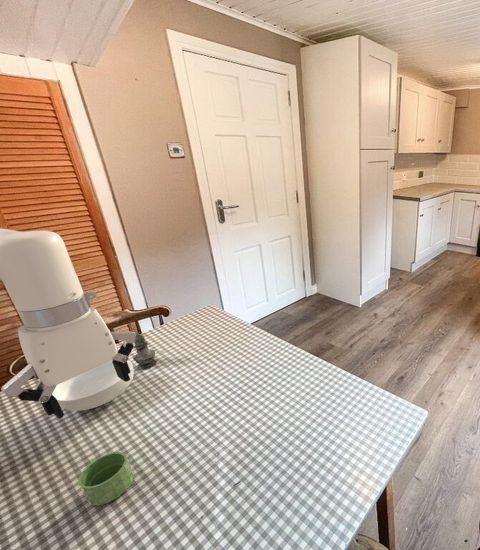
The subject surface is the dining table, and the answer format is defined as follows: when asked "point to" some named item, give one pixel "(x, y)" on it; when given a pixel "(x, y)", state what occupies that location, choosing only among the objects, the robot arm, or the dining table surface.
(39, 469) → the dining table surface
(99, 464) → the green bowl
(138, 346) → the grey tall carved piece
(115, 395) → the cereal bowl
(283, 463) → the dining table surface
